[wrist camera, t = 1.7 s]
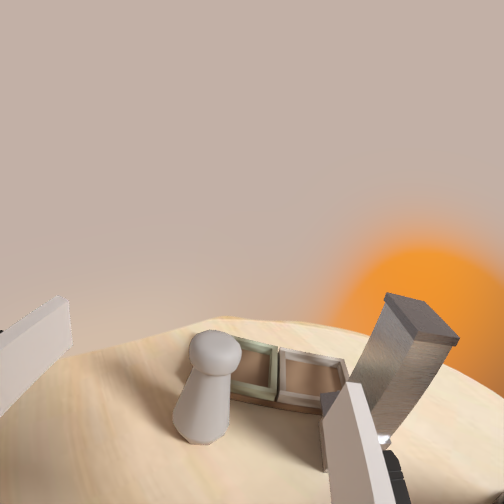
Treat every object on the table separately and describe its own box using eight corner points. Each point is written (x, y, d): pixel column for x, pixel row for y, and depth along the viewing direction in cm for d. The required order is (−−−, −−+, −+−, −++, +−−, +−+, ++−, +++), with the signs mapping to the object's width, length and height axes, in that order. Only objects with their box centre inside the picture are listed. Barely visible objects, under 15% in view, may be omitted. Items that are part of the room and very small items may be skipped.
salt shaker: (162, 418, 26) (170, 324, 22) (206, 406, 29) (227, 316, 26) (188, 459, 21) (204, 370, 18) (235, 441, 25) (267, 353, 22)
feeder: (353, 425, 30) (423, 300, 25) (363, 472, 22) (462, 340, 17) (299, 420, 30) (362, 285, 25) (301, 471, 22) (391, 328, 17)
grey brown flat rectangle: (339, 369, 42) (344, 358, 41) (351, 417, 31) (359, 406, 31) (205, 340, 42) (208, 328, 42) (186, 386, 32) (188, 373, 31)
